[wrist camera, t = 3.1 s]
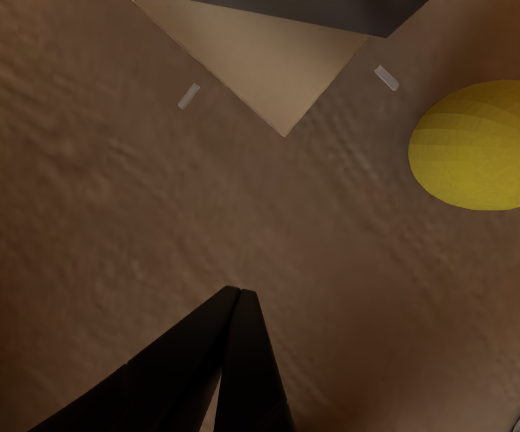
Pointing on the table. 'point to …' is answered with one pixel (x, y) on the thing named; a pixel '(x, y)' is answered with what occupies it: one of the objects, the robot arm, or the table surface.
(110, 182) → the table surface
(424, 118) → the lemon
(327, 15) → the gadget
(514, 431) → the computer
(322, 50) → the flat tan square board
